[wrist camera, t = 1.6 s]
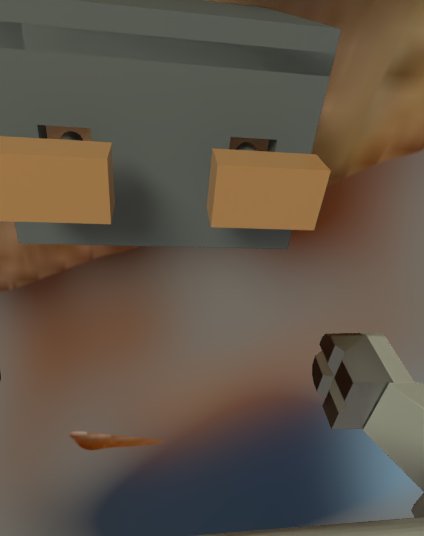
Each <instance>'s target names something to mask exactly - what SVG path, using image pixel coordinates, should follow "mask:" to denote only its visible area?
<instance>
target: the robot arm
mask: <svg viewBox="0 0 424 536" xmlns="http://www.w3.org/2000/svg"><path fill="white" fill-rule="evenodd" d="M320 347H321V349H322V351H321V352H320V353H318V354H317V355H316V356H315V358H314V361H313V365H312V376H313V381H314V385H315V387H316V390H317V392H318V393H319V394H321V395H322V396H323V397H324V398H325V401H324V403H323V408H324V411H325V414H326V416H327V419H328V421H329V424H330V426H331V429H363V430H364V432H365V433H366V434H367V435H368V436H369V437H370V438H371V439H372V440H373V441H374V442H375V443H376V444H377V445H378V446H379V447H380V448H381V449H382V450H383V451H384V452H385V453H386V454H387V455H388V456H389V457H390V458H391V459H392V460H393V461H394V462H395V463H396V464H397V465H398V466H399V467H400V468H401V469H402V470H403V471H404V472H405V473H406V474H407V475H408V476H409V477H410V478H411V479H412V480H413V481H414V482H415V483H416V484H417V485H418V486H419V487H420V488H421V489H422V490H423V491H424V385H423V384H422V383H421V382H414V381H413V379H412V377H411V376H410V374H409V373H408V371H407V370H406V368H405V366H404V365H403V363H402V362H401V360H400V359H399V357H398V356H397V354H396V352H395V351H394V349H393V348H392V346H391V345H390V343H389V342H388V340H387V339H386V337H385V336H384V335H383V334H381V333H342V334H341V333H340V334H325V335H324V336H323V337H322V339H321V341H320ZM0 380H1V374H0ZM412 513H413V515H414V517H415V518H405V519H393V520H380V521H368V522H356V523H344V524H332V525H320V526H307V527H295V528H283V529H271V530H258V531H246V532H234V533H223V534H211V535H198V536H424V493H423V494H422V496H421V497H420V498H419V499H418V500H417V502H416V503H415V504H414V506H413V508H412Z"/></svg>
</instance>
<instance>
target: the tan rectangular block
mask: <svg viewBox="0 0 424 536" xmlns="http://www.w3.org/2000/svg"><path fill="white" fill-rule="evenodd" d="M330 172H331V170H330V169H329V168H328V167H327V166H326V165H325V164H324V163H323V161H322V160H321V159H320V158H319V157H318V156H317V155H316V154H300V153H283V152H266V151H257V150H256V148H255V146H254V145H253V144H251V143H249V142H244V143H241V144H240V145H239V146H238V147H237V148H236V150H231V149H214V148H212V158H211V168H210V178H209V188H208V199H207V211H208V216H209V221H210V225H211V227H218V228H253V229H287V230H314V229H315V225H316V221H317V218H318V215H319V211H320V208H321V204H322V200H323V197H324V193H325V190H326V186H327V183H328V179H329V176H330Z"/></svg>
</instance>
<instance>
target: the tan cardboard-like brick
mask: <svg viewBox="0 0 424 536" xmlns="http://www.w3.org/2000/svg"><path fill="white" fill-rule="evenodd" d="M114 206H115V196H114V176H113V156H112V142H95V141H83V139H82V137H81V136H80V135H79V134H78V133H76V132H72V131H69V132H65V133H64V134H63V135H62V136H61V138H60V139H43V138H26V137H9V136H0V221H15V222H49V223H84V224H111V222H112V216H113V211H114Z"/></svg>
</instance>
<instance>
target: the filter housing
mask: <svg viewBox="0 0 424 536" xmlns="http://www.w3.org/2000/svg"><path fill="white" fill-rule="evenodd" d="M340 33H341V29H339V28H336V27H332V26H329V25H325V24H322V23H318V22H314V21H311V20H307V19H304V18H300V17H297V16H293V15H289V14H286V13H282V12H279V11H275V10H272V9H268V8H264V7H256V6H247V5H238V4H229V3H220V2H211V1H202V0H0V136H9V137H26V138H43V139H47V133H46V126H45V125H49V126H65V127H81V128H91V139H92V141H95V142H112V156H113V176H114V196H115V206H114V211H113V216H112V222H111V224H84V223H49V222H15V221H14V222H15V227H16V232H17V236H18V241H19V243H29V244H76V245H122V246H169V247H173V246H174V247H216V248H263V249H288V245H289V240H290V237H291V233H292V230H287V229H253V228H218V227H211V225H210V221H209V216H208V211H207V199H208V188H209V178H210V168H211V158H212V148H214V149H229V147H230V139H231V137H241V138H257V139H269V145H268V150H267V152H283V153H300V154H311V151H312V147H313V143H314V139H315V135H316V131H317V127H318V123H319V119H320V115H321V111H322V106H323V102H324V98H325V94H326V90H327V86H328V82H329V78H330V74H331V70H332V66H333V62H334V57H335V53H336V49H337V45H338V41H339V37H340Z"/></svg>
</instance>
